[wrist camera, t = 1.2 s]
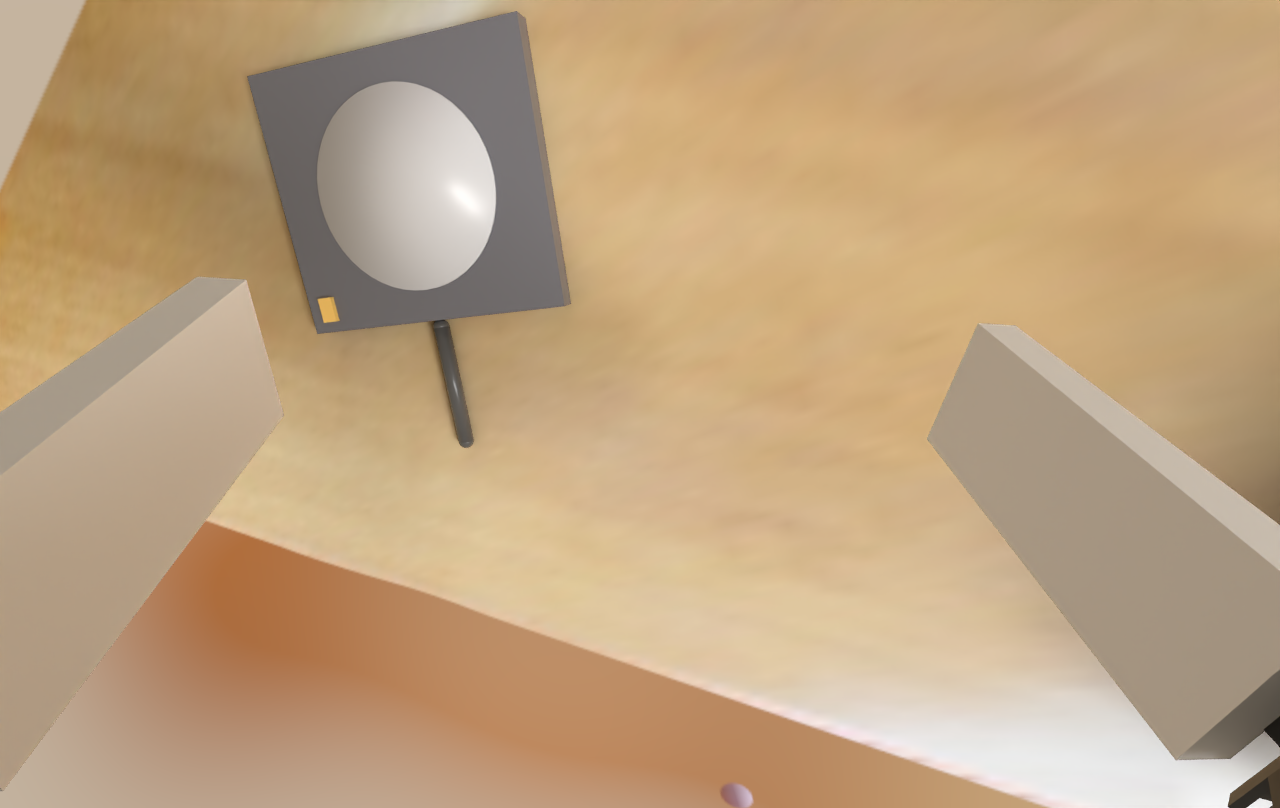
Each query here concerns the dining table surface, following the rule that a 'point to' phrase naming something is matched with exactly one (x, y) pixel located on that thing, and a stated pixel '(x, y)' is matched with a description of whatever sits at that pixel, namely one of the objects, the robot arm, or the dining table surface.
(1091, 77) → the dining table surface
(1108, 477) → the robot arm
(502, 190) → the warming pad
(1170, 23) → the dining table surface
